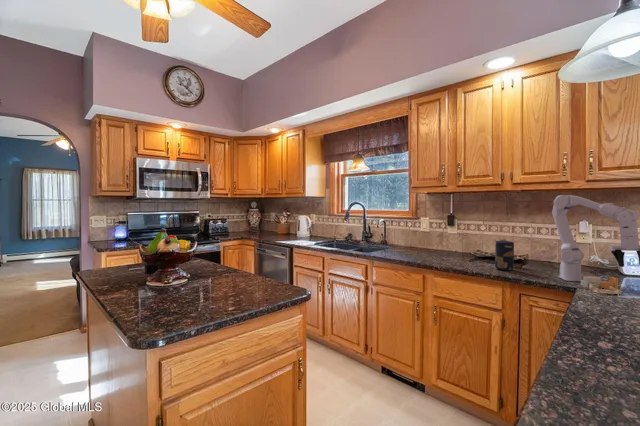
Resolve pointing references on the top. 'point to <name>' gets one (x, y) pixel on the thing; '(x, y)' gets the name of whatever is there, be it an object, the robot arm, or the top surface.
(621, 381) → the top surface
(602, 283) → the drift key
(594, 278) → the grey block
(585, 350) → the top surface
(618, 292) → the tan flat bracket
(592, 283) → the socket
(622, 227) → the robot arm
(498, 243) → the canister
